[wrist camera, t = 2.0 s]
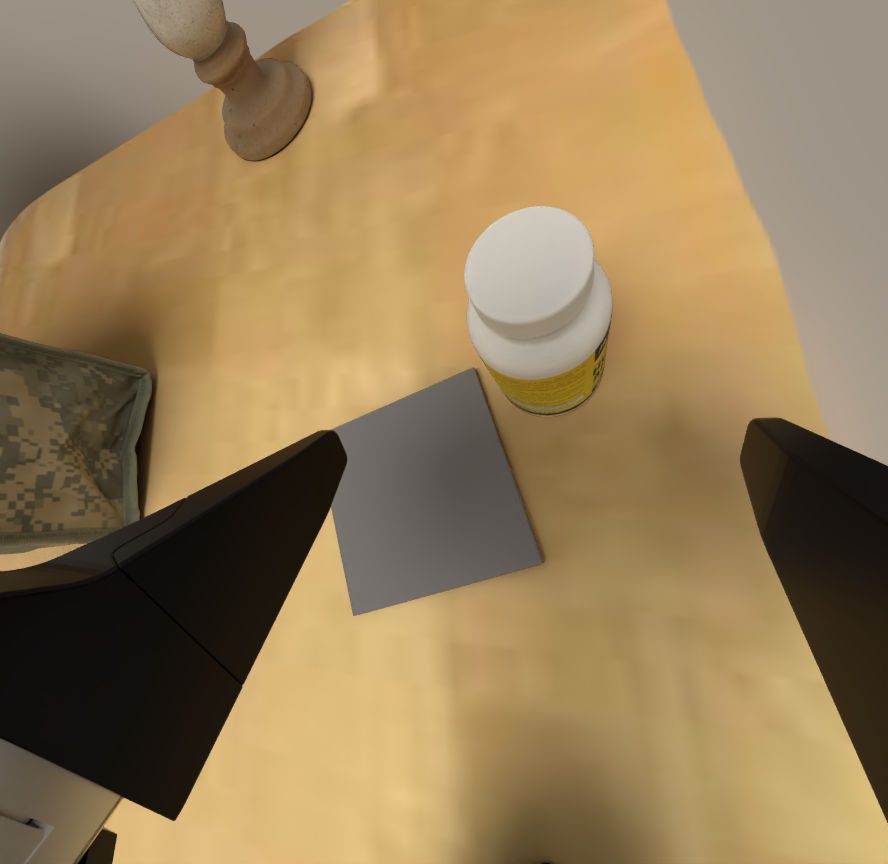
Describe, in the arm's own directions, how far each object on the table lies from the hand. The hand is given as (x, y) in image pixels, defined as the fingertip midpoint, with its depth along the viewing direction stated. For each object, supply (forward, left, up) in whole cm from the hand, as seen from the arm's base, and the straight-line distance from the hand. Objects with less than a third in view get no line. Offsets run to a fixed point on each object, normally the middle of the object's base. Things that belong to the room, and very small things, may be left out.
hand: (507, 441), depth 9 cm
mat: (+5, +6, -12) cm, 14 cm away
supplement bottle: (+4, -4, -12) cm, 13 cm away
